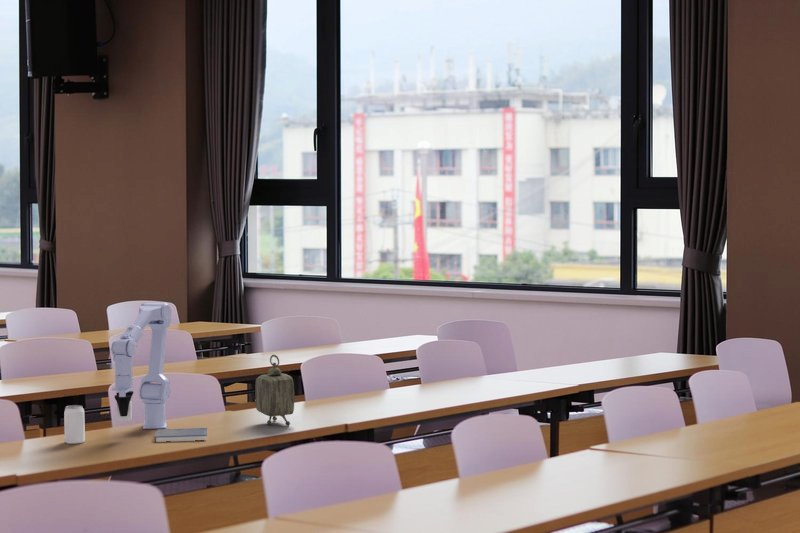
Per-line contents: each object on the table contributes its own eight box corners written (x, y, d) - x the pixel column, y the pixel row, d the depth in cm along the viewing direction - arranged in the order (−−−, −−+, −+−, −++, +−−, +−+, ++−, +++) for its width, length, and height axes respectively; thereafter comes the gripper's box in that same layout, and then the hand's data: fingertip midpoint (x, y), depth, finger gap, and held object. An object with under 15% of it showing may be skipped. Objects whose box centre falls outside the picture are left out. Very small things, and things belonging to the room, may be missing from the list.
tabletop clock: (294, 426, 417) (294, 356, 415) (271, 429, 412) (270, 358, 410) (276, 419, 429) (276, 351, 427) (254, 422, 424) (253, 353, 423)
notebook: (157, 436, 403) (157, 429, 402) (207, 434, 405) (207, 427, 405) (155, 443, 391) (155, 436, 391) (206, 442, 393) (206, 434, 393)
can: (79, 444, 387) (78, 408, 386) (61, 443, 388) (60, 408, 387) (88, 440, 393) (87, 405, 392) (70, 439, 394) (69, 404, 394)
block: (118, 418, 396) (117, 400, 396) (131, 418, 397) (131, 400, 397) (117, 421, 392) (116, 403, 392) (130, 420, 393) (130, 402, 392)
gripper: (113, 371, 400) (114, 411, 401) (109, 378, 386) (110, 419, 387) (134, 371, 401) (135, 410, 402) (131, 377, 387) (132, 418, 388)
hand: (124, 414), depth 394 cm, fingers closed on block, 4 cm apart
